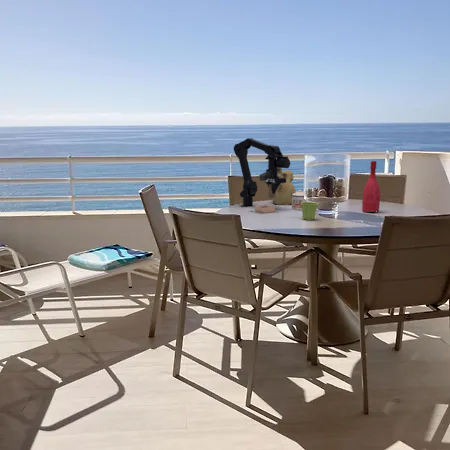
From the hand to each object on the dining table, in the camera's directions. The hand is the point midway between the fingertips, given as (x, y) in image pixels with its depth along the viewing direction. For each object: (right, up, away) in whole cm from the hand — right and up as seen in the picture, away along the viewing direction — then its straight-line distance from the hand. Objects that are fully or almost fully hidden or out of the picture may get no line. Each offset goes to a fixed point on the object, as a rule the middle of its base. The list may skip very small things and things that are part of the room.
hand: (272, 193), depth 299 cm
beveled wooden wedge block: (0, -2, 0) cm, 2 cm away
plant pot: (+17, -16, -27) cm, 35 cm away
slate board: (-6, -12, -10) cm, 16 cm away
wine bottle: (+58, -11, -1) cm, 59 cm away
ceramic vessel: (+9, -5, +28) cm, 30 cm away
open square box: (-5, -11, -11) cm, 16 cm away
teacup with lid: (+18, -9, +5) cm, 21 cm away
